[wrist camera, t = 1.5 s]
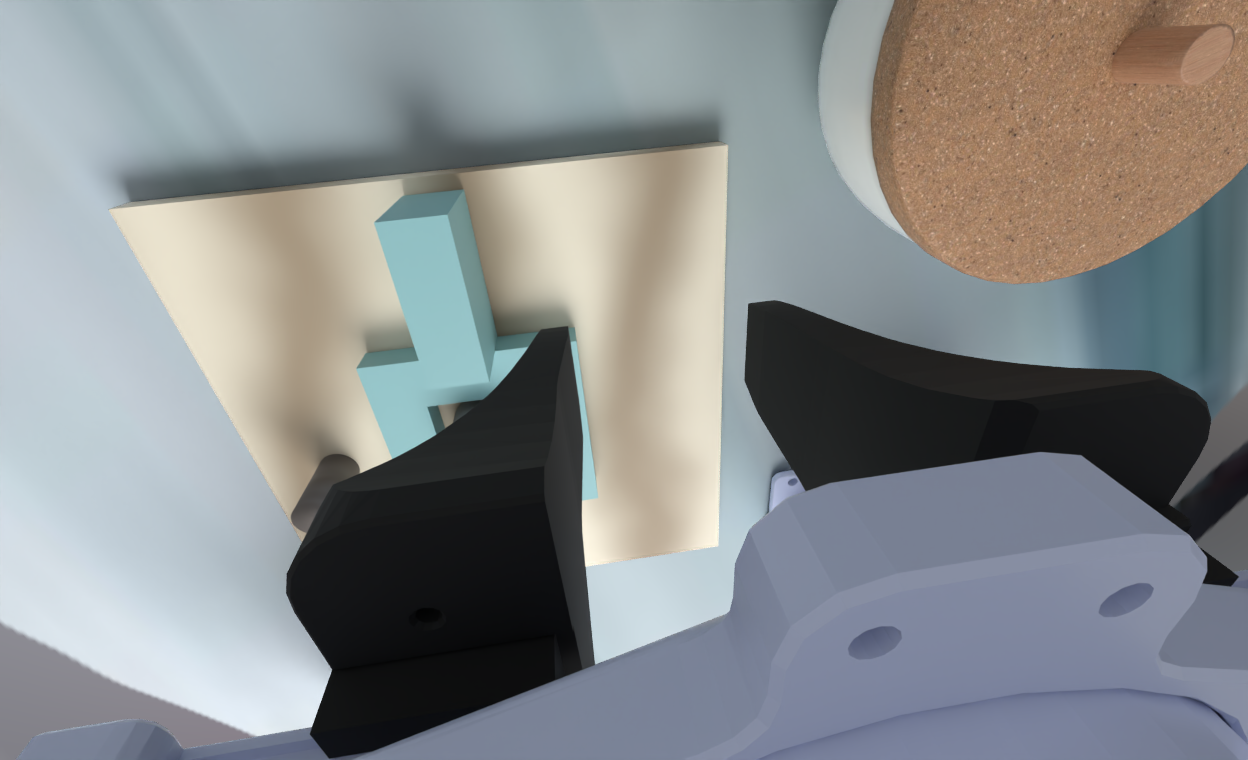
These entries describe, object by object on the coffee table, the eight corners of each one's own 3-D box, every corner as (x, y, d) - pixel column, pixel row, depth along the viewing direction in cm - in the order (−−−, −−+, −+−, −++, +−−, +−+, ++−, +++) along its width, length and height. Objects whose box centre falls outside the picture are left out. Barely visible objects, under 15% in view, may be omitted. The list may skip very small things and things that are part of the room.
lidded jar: (729, -52, 16) (910, -164, 8) (1084, -235, 15) (1709, -579, 7) (804, 259, 22) (954, 376, 14) (1066, 143, 20) (1399, 196, 12)
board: (719, 141, 19) (758, 159, 15) (713, 532, 29) (734, 593, 26) (129, 202, 17) (28, 236, 14) (344, 588, 28) (316, 661, 25)
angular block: (596, 480, 25) (602, 535, 22) (423, 504, 24) (407, 564, 21) (554, 179, 18) (555, 203, 15) (309, 205, 17) (260, 234, 14)
